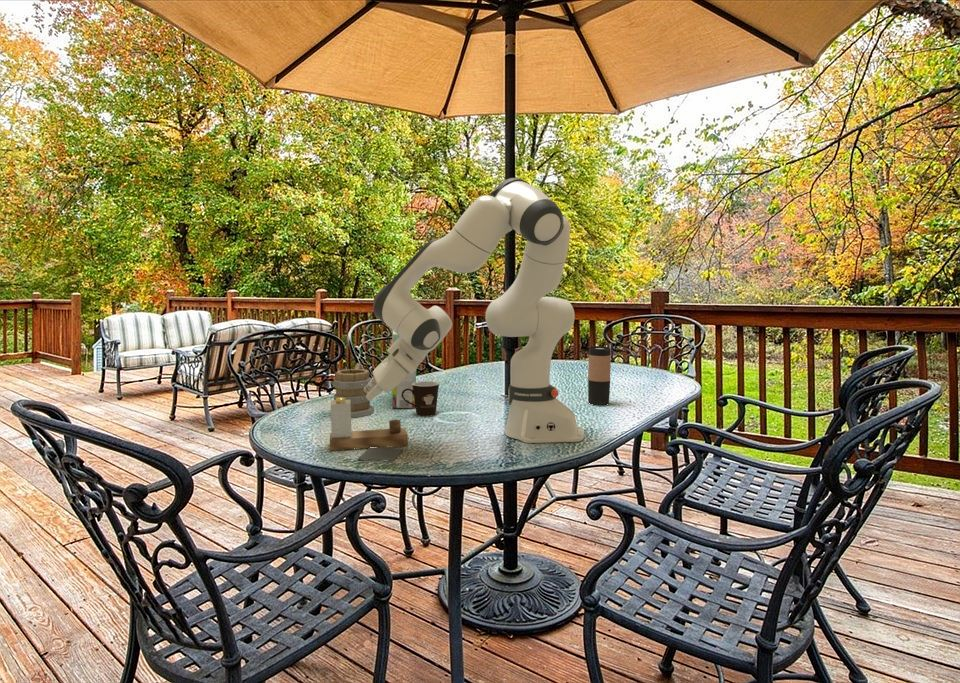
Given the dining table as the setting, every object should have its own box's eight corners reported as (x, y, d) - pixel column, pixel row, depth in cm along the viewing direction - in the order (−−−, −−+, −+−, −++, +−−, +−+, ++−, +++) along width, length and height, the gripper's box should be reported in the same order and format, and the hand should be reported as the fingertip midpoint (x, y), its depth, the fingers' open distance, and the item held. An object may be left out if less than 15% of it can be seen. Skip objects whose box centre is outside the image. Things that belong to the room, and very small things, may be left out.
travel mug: (587, 401, 202) (588, 346, 199) (608, 401, 201) (610, 346, 198) (588, 405, 194) (589, 348, 192) (610, 406, 193) (612, 349, 191)
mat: (403, 450, 145) (403, 448, 145) (393, 461, 136) (393, 460, 136) (369, 449, 146) (369, 447, 146) (357, 460, 137) (357, 458, 137)
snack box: (418, 408, 191) (417, 333, 188) (392, 409, 189) (390, 334, 186) (415, 395, 212) (413, 328, 209) (391, 396, 211) (390, 328, 208)
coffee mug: (441, 410, 187) (441, 381, 186) (436, 417, 179) (436, 386, 178) (407, 410, 188) (406, 380, 187) (401, 416, 180) (400, 385, 179)
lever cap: (351, 432, 151) (350, 395, 150) (351, 437, 146) (350, 399, 145) (332, 433, 150) (331, 396, 149) (331, 438, 145) (330, 400, 144)
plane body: (405, 438, 155) (404, 417, 155) (407, 445, 149) (407, 423, 148) (330, 443, 151) (330, 421, 150) (330, 451, 144) (329, 428, 143)
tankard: (368, 418, 178) (367, 371, 177) (328, 417, 179) (327, 371, 177) (380, 403, 198) (379, 362, 196) (345, 403, 198) (343, 362, 197)
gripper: (390, 344, 157) (356, 380, 156) (399, 353, 138) (359, 395, 136) (406, 359, 159) (372, 395, 158) (417, 371, 139) (378, 411, 138)
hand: (366, 395), depth 147 cm, fingers open, 8 cm apart
